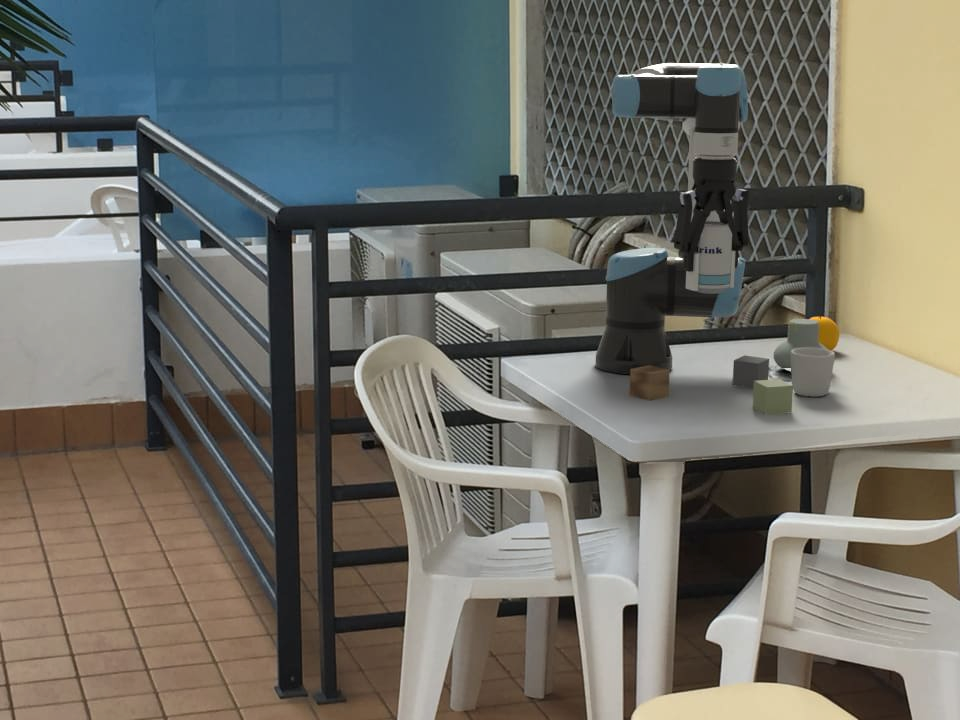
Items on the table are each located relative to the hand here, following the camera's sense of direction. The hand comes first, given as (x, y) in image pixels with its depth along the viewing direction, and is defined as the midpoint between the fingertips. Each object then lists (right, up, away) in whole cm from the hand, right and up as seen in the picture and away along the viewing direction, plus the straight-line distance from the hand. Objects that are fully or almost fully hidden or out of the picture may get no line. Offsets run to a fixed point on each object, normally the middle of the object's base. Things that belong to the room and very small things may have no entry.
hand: (709, 287), depth 259 cm
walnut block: (-10, -19, +10) cm, 24 cm away
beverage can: (0, -1, 0) cm, 1 cm away
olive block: (+11, -22, 0) cm, 24 cm away
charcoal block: (+11, -17, +19) cm, 28 cm away
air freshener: (+23, -15, +30) cm, 41 cm away
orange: (+30, -11, +48) cm, 58 cm away
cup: (+21, -19, +13) cm, 31 cm away
